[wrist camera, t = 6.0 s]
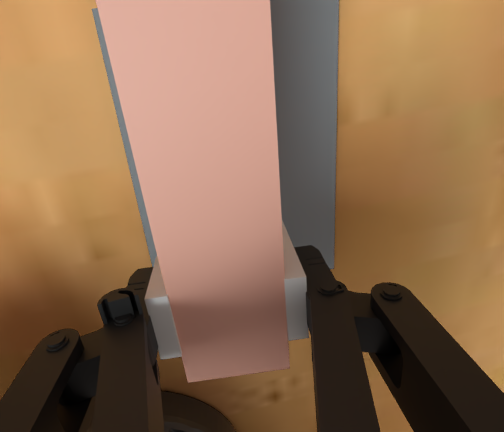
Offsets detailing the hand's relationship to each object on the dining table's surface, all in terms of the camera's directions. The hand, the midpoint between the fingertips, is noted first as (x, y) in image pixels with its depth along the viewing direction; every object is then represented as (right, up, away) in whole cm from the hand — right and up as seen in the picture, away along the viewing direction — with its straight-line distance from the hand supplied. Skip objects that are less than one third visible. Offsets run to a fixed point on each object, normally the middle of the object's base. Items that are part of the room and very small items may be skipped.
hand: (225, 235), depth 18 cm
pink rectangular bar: (0, +4, -7) cm, 8 cm away
